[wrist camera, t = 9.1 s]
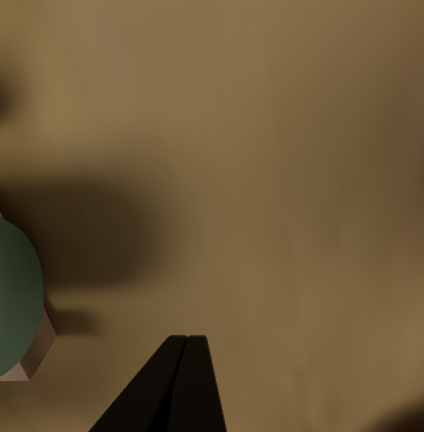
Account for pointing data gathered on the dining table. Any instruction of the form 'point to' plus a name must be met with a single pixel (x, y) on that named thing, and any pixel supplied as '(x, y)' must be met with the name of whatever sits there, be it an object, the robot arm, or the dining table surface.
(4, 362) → the bottle
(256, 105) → the dining table surface
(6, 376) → the shallow wooden tray
